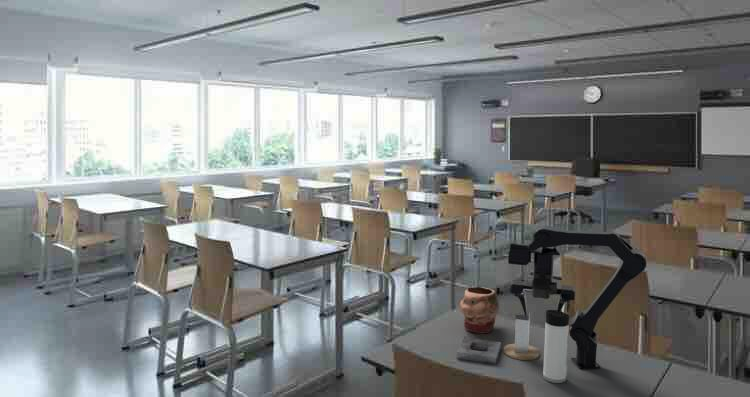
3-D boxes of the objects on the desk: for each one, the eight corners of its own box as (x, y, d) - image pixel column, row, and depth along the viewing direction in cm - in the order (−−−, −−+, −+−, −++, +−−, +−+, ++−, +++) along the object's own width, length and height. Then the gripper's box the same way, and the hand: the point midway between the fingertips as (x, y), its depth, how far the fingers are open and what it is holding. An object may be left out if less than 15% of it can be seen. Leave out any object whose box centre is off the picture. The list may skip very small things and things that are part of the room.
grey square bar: (528, 348, 172) (530, 311, 170) (527, 354, 169) (529, 316, 167) (515, 347, 174) (517, 310, 172) (514, 352, 170) (515, 314, 168)
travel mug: (537, 375, 156) (540, 309, 153) (556, 371, 158) (559, 306, 155) (551, 385, 150) (554, 316, 147) (570, 381, 153) (574, 313, 150)
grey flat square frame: (500, 348, 174) (501, 342, 174) (495, 364, 163) (496, 357, 163) (463, 343, 179) (464, 337, 178) (456, 358, 167) (456, 352, 167)
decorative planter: (477, 315, 204) (478, 279, 202) (508, 322, 196) (509, 285, 194) (451, 332, 188) (452, 293, 186) (483, 340, 181) (484, 300, 178)
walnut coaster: (544, 359, 166) (545, 357, 166) (509, 360, 166) (509, 358, 165) (532, 344, 177) (532, 342, 177) (499, 345, 176) (499, 343, 176)
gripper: (508, 271, 160) (506, 322, 162) (576, 278, 153) (573, 330, 156) (512, 262, 170) (511, 309, 172) (576, 267, 164) (573, 317, 166)
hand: (541, 316), depth 166 cm, fingers open, 9 cm apart
